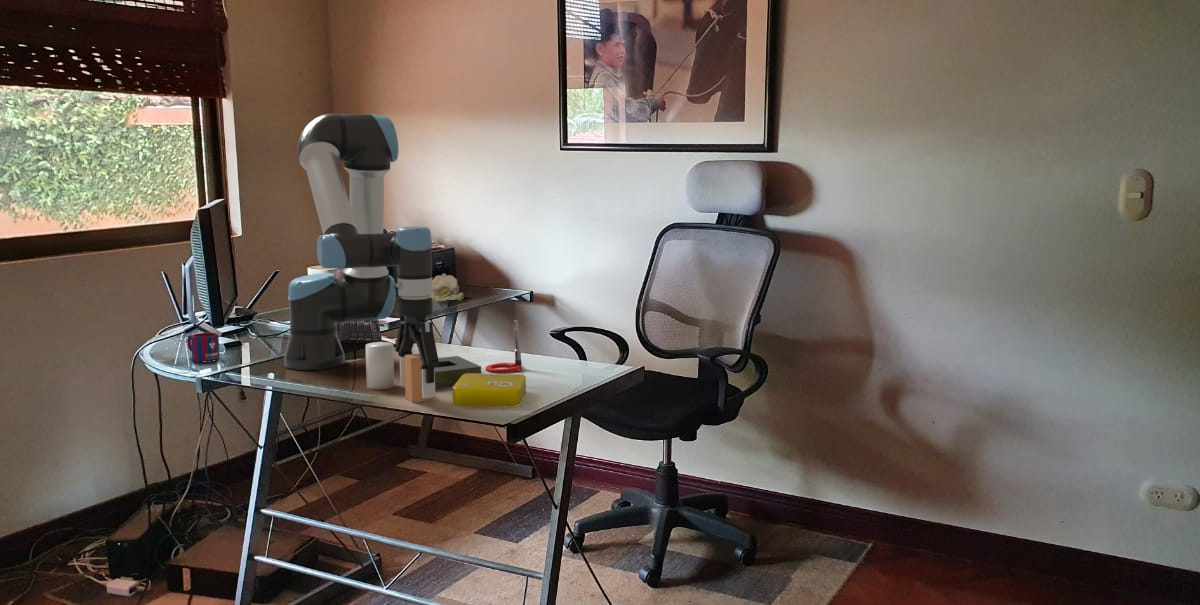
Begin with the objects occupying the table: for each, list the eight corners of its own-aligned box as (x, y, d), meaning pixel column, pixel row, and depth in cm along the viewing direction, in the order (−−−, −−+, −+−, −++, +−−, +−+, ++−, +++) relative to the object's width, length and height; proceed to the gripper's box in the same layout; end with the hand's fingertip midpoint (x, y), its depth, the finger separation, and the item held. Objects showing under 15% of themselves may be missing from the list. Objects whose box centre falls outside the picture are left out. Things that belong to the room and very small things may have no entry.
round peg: (363, 384, 221) (361, 343, 219) (389, 381, 224) (387, 341, 222) (371, 390, 215) (370, 348, 214) (398, 387, 219) (397, 345, 217)
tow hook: (485, 375, 233) (521, 373, 234) (482, 325, 231) (519, 323, 232) (486, 368, 242) (521, 366, 242) (483, 319, 240) (519, 317, 240)
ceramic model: (426, 301, 349) (425, 275, 347) (426, 297, 360) (426, 271, 358) (463, 301, 351) (463, 275, 349) (463, 297, 362) (463, 271, 360)
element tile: (526, 391, 217) (526, 371, 216) (519, 409, 202) (519, 387, 202) (463, 390, 218) (463, 370, 217) (451, 407, 203) (450, 386, 202)
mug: (201, 363, 241) (200, 338, 240) (180, 358, 247) (178, 333, 246) (224, 359, 247) (223, 334, 245) (203, 354, 252) (202, 330, 251)
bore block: (405, 377, 228) (404, 361, 227) (457, 371, 235) (457, 355, 235) (426, 389, 216) (426, 373, 216) (481, 382, 224) (481, 366, 223)
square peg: (405, 398, 208) (404, 355, 207) (422, 396, 211) (421, 353, 209) (412, 402, 205) (411, 358, 204) (429, 400, 207) (428, 356, 206)
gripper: (379, 291, 213) (382, 381, 216) (419, 305, 192) (422, 405, 195) (410, 289, 217) (413, 377, 220) (453, 303, 196) (455, 400, 199)
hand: (417, 390), depth 207 cm, fingers open, 13 cm apart
